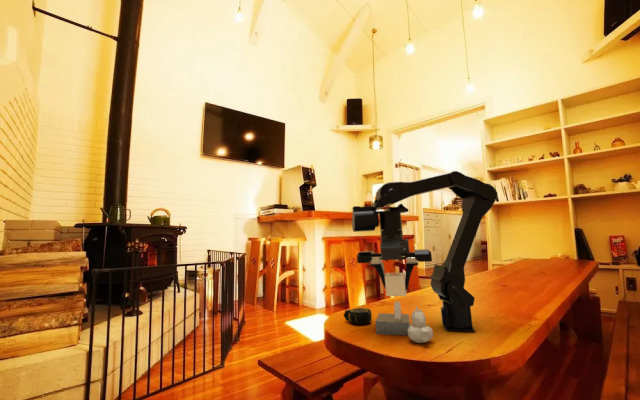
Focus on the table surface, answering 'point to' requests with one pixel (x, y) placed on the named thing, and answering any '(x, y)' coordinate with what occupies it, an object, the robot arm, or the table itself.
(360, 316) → the tape measure
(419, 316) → the white rounded figure
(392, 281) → the cream box
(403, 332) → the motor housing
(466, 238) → the robot arm
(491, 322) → the table surface
